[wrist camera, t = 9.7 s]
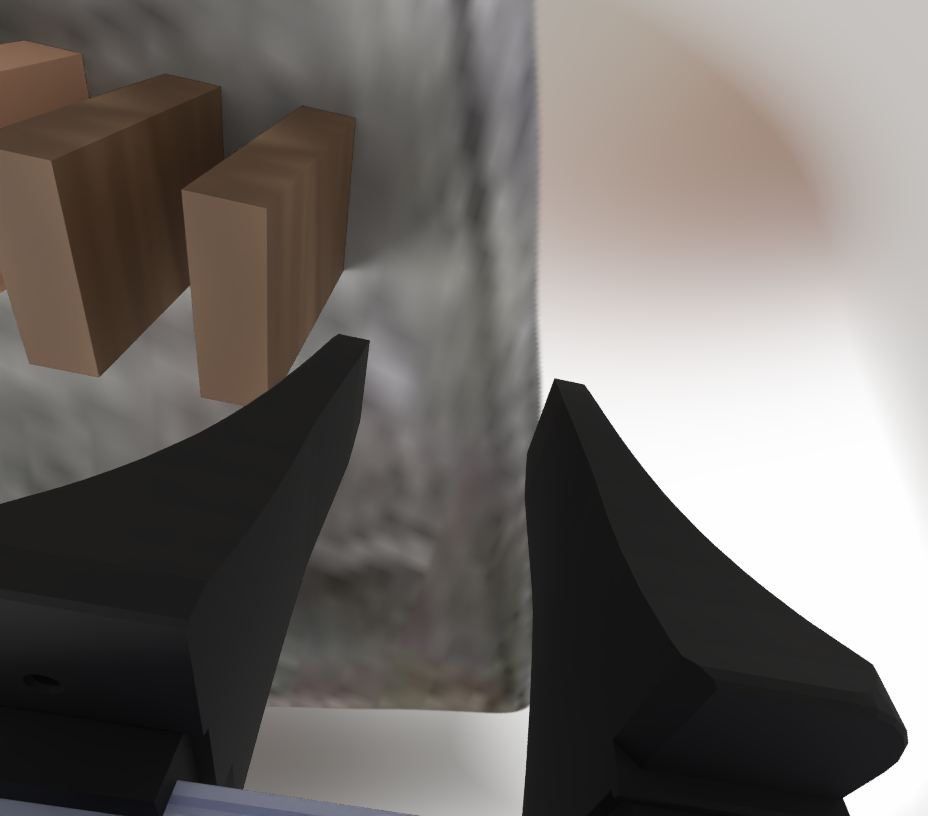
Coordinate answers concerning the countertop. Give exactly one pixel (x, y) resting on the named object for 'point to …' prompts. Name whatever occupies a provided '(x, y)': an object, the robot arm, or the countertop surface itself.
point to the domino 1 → (37, 83)
